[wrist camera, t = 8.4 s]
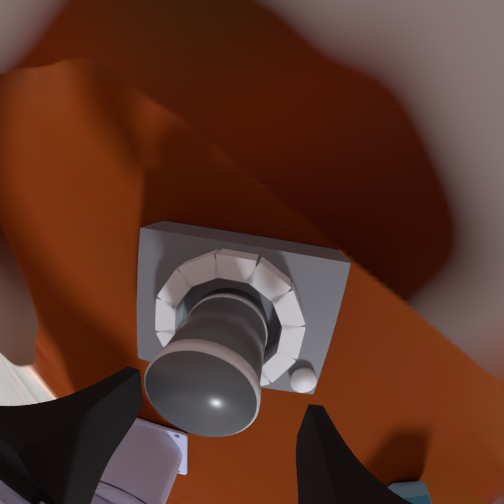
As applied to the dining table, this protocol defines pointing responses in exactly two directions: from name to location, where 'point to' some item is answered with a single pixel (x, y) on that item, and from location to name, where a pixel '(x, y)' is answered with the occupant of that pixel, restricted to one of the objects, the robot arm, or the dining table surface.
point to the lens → (212, 366)
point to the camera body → (250, 281)
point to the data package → (412, 491)
